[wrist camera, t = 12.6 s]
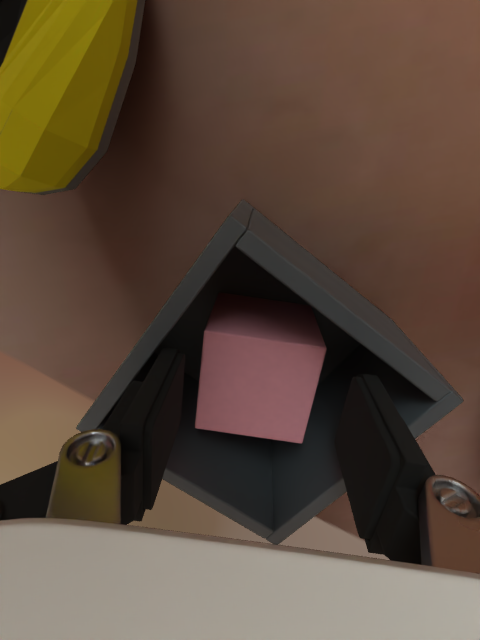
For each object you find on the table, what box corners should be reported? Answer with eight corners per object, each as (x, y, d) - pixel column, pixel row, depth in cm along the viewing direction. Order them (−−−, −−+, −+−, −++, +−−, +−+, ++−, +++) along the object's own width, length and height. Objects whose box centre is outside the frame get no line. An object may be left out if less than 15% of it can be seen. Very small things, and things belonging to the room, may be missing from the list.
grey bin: (136, 345, 18) (74, 429, 12) (242, 198, 15) (229, 213, 9) (272, 434, 20) (276, 546, 14) (392, 320, 17) (465, 401, 11)
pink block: (209, 371, 18) (194, 428, 14) (218, 291, 16) (203, 330, 12) (293, 383, 18) (302, 444, 14) (311, 305, 16) (327, 348, 12)
